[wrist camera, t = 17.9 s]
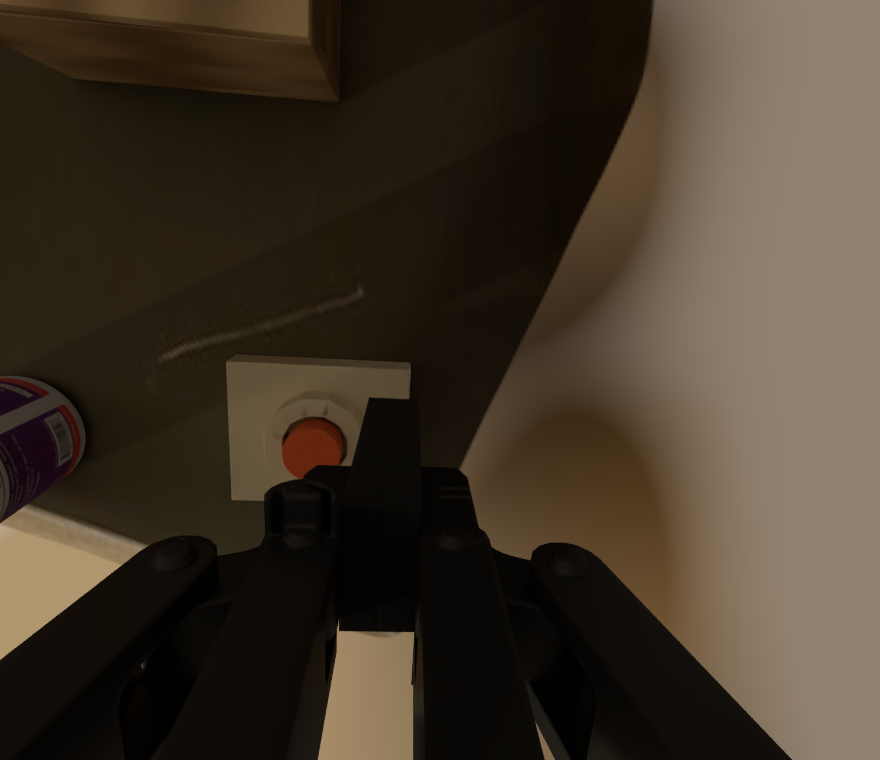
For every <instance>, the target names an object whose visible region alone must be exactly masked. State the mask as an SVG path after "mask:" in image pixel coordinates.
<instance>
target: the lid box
mask: <svg viewBox="0 0 880 760" xmlns="http://www.w3.org/2000/svg"><path fill="white" fill-rule="evenodd" d="M340 40H341V0H312V42H311V43H310V44H309V43H300V42H290V41H281V40H272V39H263V38H254V37H245V36H235V35H226V34H217V33H208V32H199V31H190V30H180V29H171V28H162V27H153V26H144V25H135V24H126V23H116V22H107V21H98V20H89V19H80V18H71V17H61V16H52V15H43V14H34V13H25V12H16V11H6V10H0V43H2V44H4V45H6V46H8V47H10V48H12V49H14V50H16V51H18V52H20V53H22V54H24V55H26V56H28V57H30V58H32V59H34V60H36V61H38V62H41V63H43V64H45V65H47V66H49V67H51V68H53V69H55V70H57V71H59V72H61V73H63V74H65V75H67V76H69V77H71V78H73V79H81V80H92V81H103V82H114V83H125V84H136V85H148V86H159V87H170V88H181V89H192V90H203V91H214V92H225V93H236V94H247V95H259V96H270V97H281V98H292V99H303V100H314V101H325V102H336V103H339V102H340Z"/></svg>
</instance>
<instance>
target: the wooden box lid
mask: <svg viewBox="0 0 880 760" xmlns="http://www.w3.org/2000/svg"><path fill="white" fill-rule="evenodd" d="M0 10H6V11H16V12H25V13H34V14H43V15H52V16H61V17H71V18H80V19H89V20H98V21H107V22H116V23H126V24H135V25H144V26H153V27H162V28H171V29H180V30H190V31H199V32H208V33H217V34H226V35H235V36H245V37H254V38H263V39H272V40H281V41H290V42H300V43H309V44H310V43H311V42H312V0H0Z"/></svg>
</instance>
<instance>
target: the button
mask: <svg viewBox="0 0 880 760" xmlns="http://www.w3.org/2000/svg"><path fill="white" fill-rule="evenodd" d="M342 452H343V439H342V436H341V434H340V432H339V431H338V430H337V429H336V427H334V426H333V425H332V424H330V423H328V422H326V421H324V420H320V419H310V420H305V421H303V422H301V423H299V424H298V425H296V426H295V427H294V428H293V430H292V431H291V432H290V434H289V436H288V438H287V439H286V441H285V443H284V445H283V448H282V459H283V463H284V465H285V467H286V468H287V470H288V471H289V472H290V473H291V474H292V475H293V476H295V477H297V478H299V479H303V477H304V475H305V473H307V472H308V471H310V470H311V469H312V468H314V467H315V466H316V465H339V462H340V459H341V455H342Z"/></svg>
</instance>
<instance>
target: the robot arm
mask: <svg viewBox="0 0 880 760" xmlns="http://www.w3.org/2000/svg"><path fill="white" fill-rule="evenodd" d="M264 510H265V536H264V538H263V541H262V543H261V545H260V546H259V547H256V548H254V549H251V550H247V551H243V552H239V553H233V554H227V555H221V556H217V546H216V545H215V544H214V543H213V542H212V541H211V540H209V539H206V538H203V537H201V536H187V535H184V536H178V537H177V536H175V537H170V538H167V539H164V540H162V541H159V542H156V543H153V544H151V545H150V546H148V547H146V548H145V549H143V550H141V551H140V552H138V553H137V554H136V555H135V556H133V557H132V558H131V559H129V560H128V561H127V562H126V563H124V564H123V565H122V566H120V567H119V568H118V569H117V570H115V571H114V572H113V573H111V574H110V575H109V576H108V577H106V578H105V579H104V580H103V581H101V582H100V583H99V584H97V585H96V586H95V587H94V588H92V589H91V590H90V591H88V592H87V593H86V594H84V595H83V596H82V597H81V598H79V599H78V600H77V601H76V602H74V603H73V604H72V605H70V606H69V607H68V608H67V609H65V610H64V611H63V612H61V613H60V614H59V615H57V616H56V617H55V618H54V619H52V620H51V621H50V622H48V623H47V624H46V625H45V626H43V627H42V628H41V629H40V630H38V631H37V632H36V633H34V634H33V635H32V636H31V637H29V638H28V639H27V640H26V641H24V642H23V643H22V644H20V645H19V646H18V647H17V648H15V649H14V650H12V651H11V652H10V653H9V654H7V655H6V656H5V657H4V658H2V659H1V660H0V760H318V755H319V749H320V742H321V737H322V732H323V726H324V720H325V714H326V709H327V703H328V697H329V692H330V686H331V680H332V674H333V669H334V663H335V658H336V651H337V649H336V648H337V642H336V641H337V626H338V621H339V631H376V632H414V648H413V665H412V681H411V685H413V760H545V759H544V755H543V751H542V748H541V743H540V740H539V736H538V732H537V728H536V723H537V725H538V727H539V729H540V731H541V733H542V735H543V737H544V739H545V741H546V743H547V745H548V747H549V749H550V750H551V752H552V754H553V756H554V758H555V760H792V759H791V758H790V757H789V756H788V755H787V754H786V753H785V752H784V751H783V750H782V749H781V748H780V747H779V746H778V745H777V744H776V743H775V741H773V739H772V738H771V737H770V736H769V735H768V734H767V733H766V732H765V731H764V730H763V729H762V728H761V727H760V726H759V725H758V724H757V723H756V722H755V721H754V720H753V718H751V716H750V715H749V714H748V713H747V712H746V711H745V710H744V709H743V708H742V707H741V706H740V705H739V704H738V703H737V702H736V701H735V700H734V699H733V698H732V697H731V696H730V694H729V693H727V691H726V690H725V689H724V688H723V687H722V686H721V685H720V684H719V683H718V682H717V681H716V680H715V679H714V678H713V677H712V676H711V675H710V674H709V673H708V672H707V670H706V669H705V668H704V667H703V666H701V664H700V663H699V662H698V661H697V660H696V659H695V658H694V657H693V656H692V655H691V654H690V653H689V652H688V651H687V650H686V648H685V647H684V646H683V645H682V644H681V643H680V642H679V641H678V640H677V639H676V638H675V637H674V636H673V635H672V634H671V633H670V632H669V631H668V630H667V629H666V628H665V626H663V625H662V623H661V622H660V621H659V620H658V619H657V618H656V617H655V616H654V615H653V614H652V613H651V612H650V611H649V610H648V609H647V608H646V607H645V606H644V605H643V603H641V601H639V599H638V598H637V597H636V596H635V595H634V594H633V593H632V592H631V591H630V590H629V589H628V588H627V587H626V586H625V585H624V584H623V583H622V582H621V581H620V579H619V578H617V576H616V575H615V574H614V573H613V572H612V571H611V570H610V569H609V568H608V567H607V566H606V565H605V564H604V563H603V562H602V561H601V560H600V559H599V558H598V557H597V556H595V555H594V554H593V553H591V552H590V551H588V550H586V549H583V548H581V547H579V546H577V545H573V544H569V543H548V544H544V545H540V546H539V547H538V548H536V549H535V550H534V551H533V553H532V558H531V560H526V559H522V558H518V557H513V556H510V555H507V554H504V553H502V552H499V551H497V550H495V549H494V548H492V547H491V544H490V540H489V538H488V536H487V535H486V533H485V532H484V531H483V530H481V529H480V528H479V526H478V522H477V518H476V513H475V510H474V505H473V500H472V496H471V492H470V487H469V483H468V478H467V477H466V476H465V475H464V474H463V473H462V472H461V471H460V470H459V469H458V468H440V467H421V464H420V439H419V413H418V399H396V398H373V397H369V400H368V403H367V407H366V411H365V415H364V419H363V423H362V427H361V430H360V434H359V438H358V442H357V446H356V450H355V454H354V457H353V461H352V465H351V466H338V465H316V466H315V467H314V468H312V469H311V470H310V471H308V472H307V473H305V475H304V477H303V479H294V480H290V481H286V482H282V483H279V484H277V485H275V486H273V487H271V488H270V489H269V490H268V491H267V492H266V493H265V494H264ZM535 721H536V723H535Z"/></svg>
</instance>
